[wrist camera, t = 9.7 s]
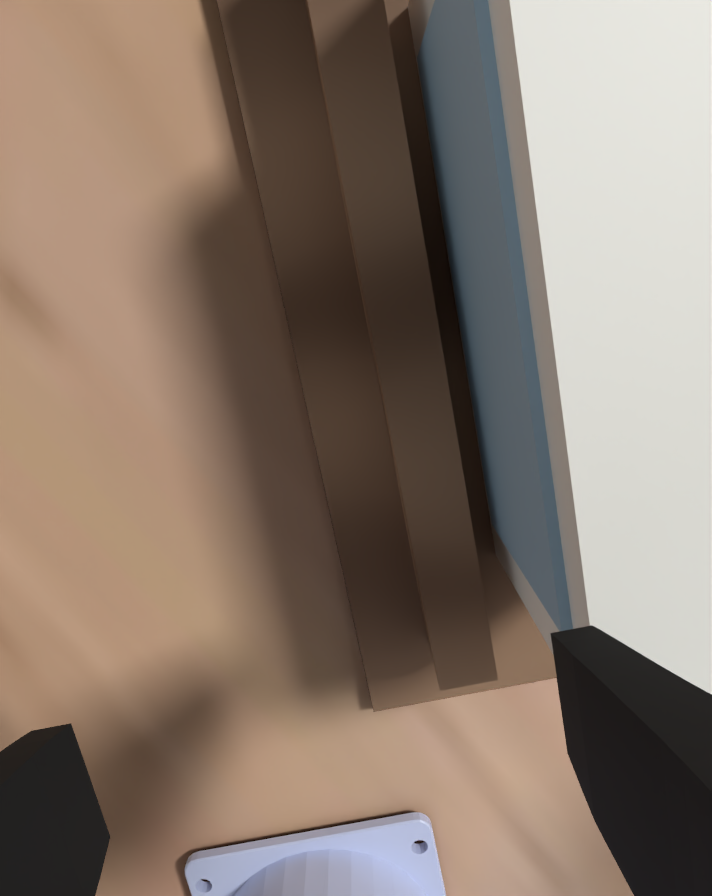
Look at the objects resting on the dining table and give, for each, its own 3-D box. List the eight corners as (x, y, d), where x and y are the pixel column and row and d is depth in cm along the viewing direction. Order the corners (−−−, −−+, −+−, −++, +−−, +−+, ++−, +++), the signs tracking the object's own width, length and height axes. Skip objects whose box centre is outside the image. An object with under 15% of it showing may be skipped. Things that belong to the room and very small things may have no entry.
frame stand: (763, 628, 20) (835, 687, 17) (373, 701, 20) (377, 770, 17) (710, -243, 15) (801, -375, 12) (190, -125, 15) (154, -225, 12)
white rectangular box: (618, 531, 18) (818, 706, 11) (488, 556, 19) (593, 747, 11) (555, -25, 15) (775, -357, 7) (399, 9, 15) (455, -284, 8)
